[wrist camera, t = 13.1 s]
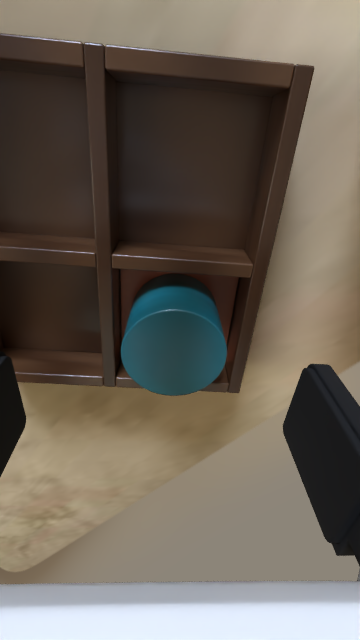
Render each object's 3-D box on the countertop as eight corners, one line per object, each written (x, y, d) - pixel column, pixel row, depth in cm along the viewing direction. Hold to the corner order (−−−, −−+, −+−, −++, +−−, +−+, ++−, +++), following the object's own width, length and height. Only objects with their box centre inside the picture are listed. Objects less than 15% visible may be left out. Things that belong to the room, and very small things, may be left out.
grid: (-1, 350, 17) (-26, 380, 15) (-81, 42, 11) (-147, 17, 8) (231, 362, 18) (239, 393, 16) (288, 80, 11) (315, 65, 9)
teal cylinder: (131, 345, 16) (121, 394, 13) (131, 269, 14) (119, 306, 11) (211, 349, 16) (219, 398, 13) (222, 276, 14) (235, 313, 11)
